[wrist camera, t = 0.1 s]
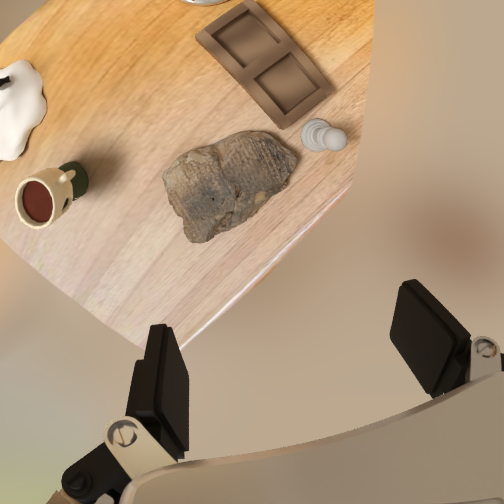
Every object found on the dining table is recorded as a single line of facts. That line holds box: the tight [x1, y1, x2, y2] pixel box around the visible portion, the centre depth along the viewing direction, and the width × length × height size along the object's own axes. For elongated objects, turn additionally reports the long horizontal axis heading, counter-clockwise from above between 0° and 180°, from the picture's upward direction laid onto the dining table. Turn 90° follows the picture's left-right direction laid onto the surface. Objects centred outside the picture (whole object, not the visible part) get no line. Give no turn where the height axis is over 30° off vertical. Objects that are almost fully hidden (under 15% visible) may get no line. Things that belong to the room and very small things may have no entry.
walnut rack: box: [195, 0, 334, 130], centre depth 37 cm, size 19×10×3 cm, turn 41°
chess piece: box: [301, 119, 347, 152], centre depth 40 cm, size 5×5×9 cm
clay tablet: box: [162, 131, 297, 243], centre depth 44 cm, size 14×5×20 cm
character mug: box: [15, 162, 88, 229], centre depth 36 cm, size 11×7×13 cm, turn 118°
